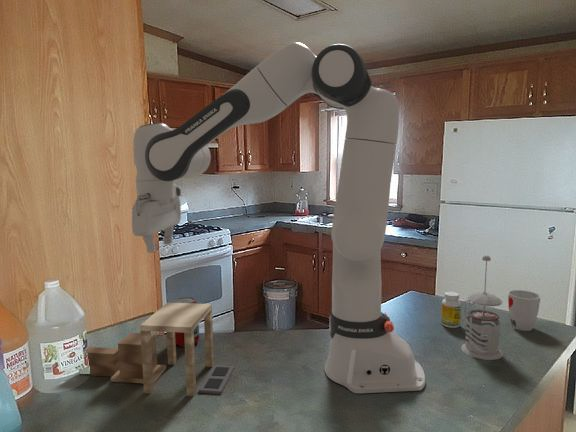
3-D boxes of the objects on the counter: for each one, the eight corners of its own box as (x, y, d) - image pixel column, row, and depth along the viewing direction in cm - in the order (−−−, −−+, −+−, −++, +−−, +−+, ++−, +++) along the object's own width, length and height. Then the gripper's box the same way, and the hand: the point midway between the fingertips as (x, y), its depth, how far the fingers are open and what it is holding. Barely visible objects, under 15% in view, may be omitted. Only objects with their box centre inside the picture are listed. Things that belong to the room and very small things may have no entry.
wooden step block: (166, 368, 99) (164, 333, 98) (153, 384, 92) (150, 346, 91) (91, 364, 101) (89, 329, 100) (73, 379, 94) (70, 342, 93)
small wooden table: (213, 364, 101) (211, 304, 99) (193, 396, 87) (190, 327, 85) (170, 361, 102) (167, 302, 100) (144, 393, 89) (140, 325, 87)
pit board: (234, 368, 99) (234, 365, 99) (221, 394, 88) (221, 390, 88) (214, 367, 99) (213, 364, 99) (198, 392, 89) (198, 389, 88)
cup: (508, 320, 127) (510, 288, 125) (539, 326, 122) (541, 293, 121) (504, 328, 120) (506, 295, 119) (536, 335, 115) (539, 300, 114)
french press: (483, 363, 100) (489, 262, 97) (447, 344, 111) (451, 252, 107) (512, 355, 104) (518, 257, 101) (474, 337, 115) (478, 248, 111)
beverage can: (193, 349, 109) (191, 305, 108) (169, 347, 111) (167, 303, 109) (203, 338, 116) (201, 296, 114) (180, 336, 117) (179, 295, 115)
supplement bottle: (445, 320, 127) (447, 289, 126) (463, 324, 123) (464, 293, 122) (437, 324, 124) (438, 293, 122) (455, 330, 120) (456, 297, 118)
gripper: (149, 195, 90) (154, 257, 92) (183, 188, 111) (187, 240, 112) (122, 196, 91) (127, 257, 93) (160, 189, 111) (164, 240, 113)
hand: (160, 247), depth 103 cm, fingers open, 8 cm apart
